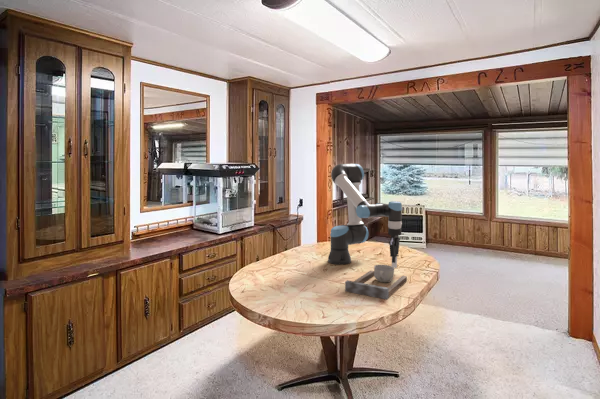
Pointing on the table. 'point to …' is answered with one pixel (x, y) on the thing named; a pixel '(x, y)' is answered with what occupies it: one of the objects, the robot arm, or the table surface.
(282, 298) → the table surface
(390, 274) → the teacup
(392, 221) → the robot arm
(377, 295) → the guide track
